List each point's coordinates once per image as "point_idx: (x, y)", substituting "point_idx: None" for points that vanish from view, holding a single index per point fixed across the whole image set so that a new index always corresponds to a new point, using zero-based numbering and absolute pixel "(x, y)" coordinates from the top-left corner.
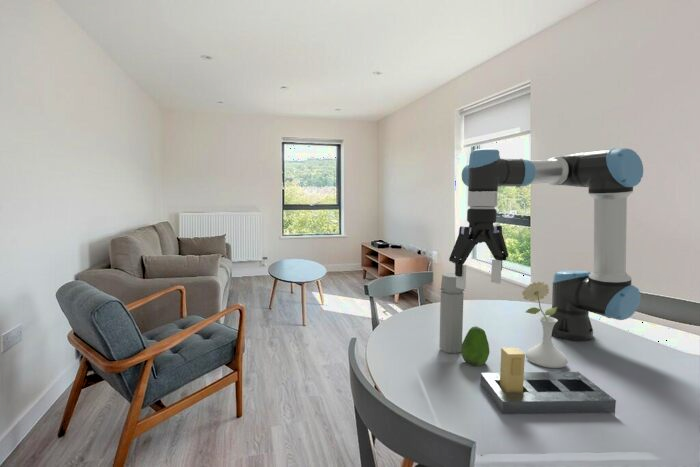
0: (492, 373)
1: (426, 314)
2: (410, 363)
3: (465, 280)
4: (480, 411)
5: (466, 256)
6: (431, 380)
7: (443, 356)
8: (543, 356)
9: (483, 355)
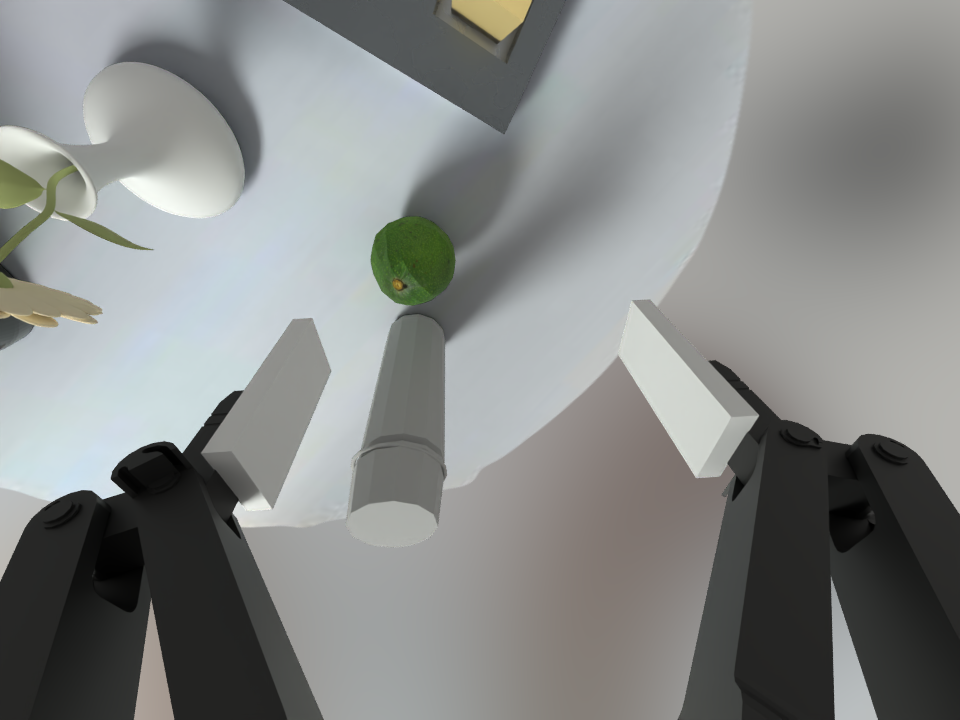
0: (475, 109)
1: (343, 490)
2: (553, 317)
3: (661, 330)
4: (608, 7)
5: (787, 495)
6: (577, 227)
7: (458, 315)
8: (194, 125)
9: (418, 218)
